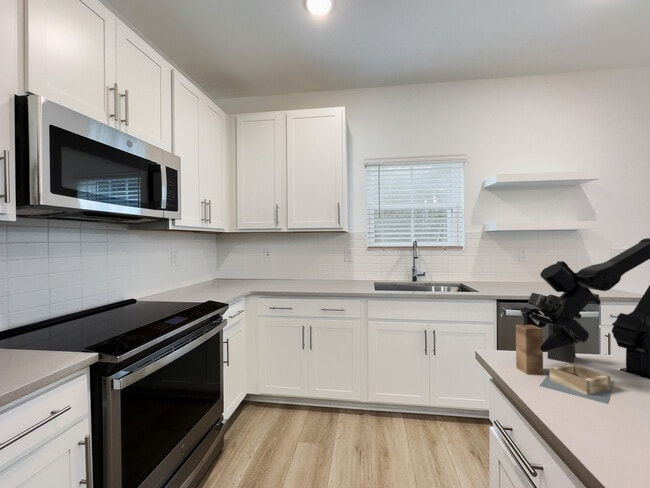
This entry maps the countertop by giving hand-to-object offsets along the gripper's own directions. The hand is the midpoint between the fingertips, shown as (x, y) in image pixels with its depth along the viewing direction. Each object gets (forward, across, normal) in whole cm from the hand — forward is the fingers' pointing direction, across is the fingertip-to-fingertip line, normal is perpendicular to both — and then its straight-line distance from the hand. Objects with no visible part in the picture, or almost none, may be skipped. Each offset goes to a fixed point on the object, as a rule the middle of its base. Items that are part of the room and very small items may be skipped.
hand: (529, 344), depth 85 cm
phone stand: (-6, -10, +18) cm, 21 cm away
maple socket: (0, +8, +10) cm, 13 cm away
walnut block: (+6, 0, +6) cm, 8 cm away
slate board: (+1, +8, +10) cm, 13 cm away
